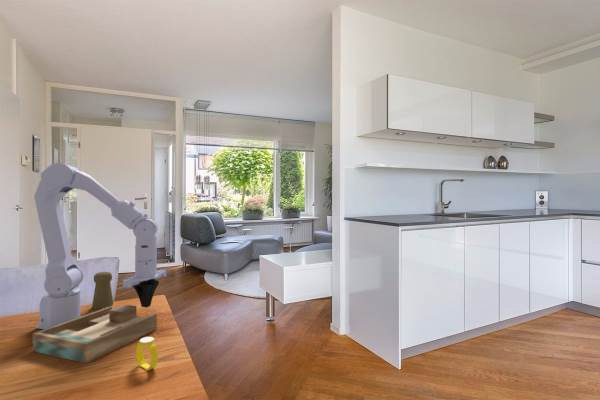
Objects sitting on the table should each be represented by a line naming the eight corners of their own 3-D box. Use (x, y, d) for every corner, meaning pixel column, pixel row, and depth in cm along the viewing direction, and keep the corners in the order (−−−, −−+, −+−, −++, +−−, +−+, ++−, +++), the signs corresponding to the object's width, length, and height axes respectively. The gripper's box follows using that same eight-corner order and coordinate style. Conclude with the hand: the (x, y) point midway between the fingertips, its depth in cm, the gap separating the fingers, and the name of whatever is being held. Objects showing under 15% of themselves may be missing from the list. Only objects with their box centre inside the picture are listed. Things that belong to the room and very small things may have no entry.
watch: (160, 370, 68) (162, 341, 68) (147, 376, 66) (149, 346, 65) (144, 359, 71) (145, 332, 71) (131, 365, 69) (133, 337, 69)
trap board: (32, 351, 75) (32, 333, 75) (108, 320, 94) (108, 306, 94) (87, 363, 70) (87, 344, 70) (156, 328, 89) (156, 313, 89)
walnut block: (109, 321, 87) (109, 310, 87) (125, 315, 92) (125, 304, 92) (121, 323, 86) (121, 311, 86) (136, 317, 90) (136, 306, 90)
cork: (103, 309, 103) (103, 274, 103) (87, 308, 105) (87, 273, 105) (117, 303, 109) (118, 270, 109) (102, 302, 111) (102, 269, 111)
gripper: (137, 265, 88) (136, 316, 88) (174, 256, 102) (174, 300, 102) (116, 263, 90) (116, 313, 90) (156, 255, 104) (155, 298, 104)
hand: (145, 306), depth 96 cm, fingers closed
